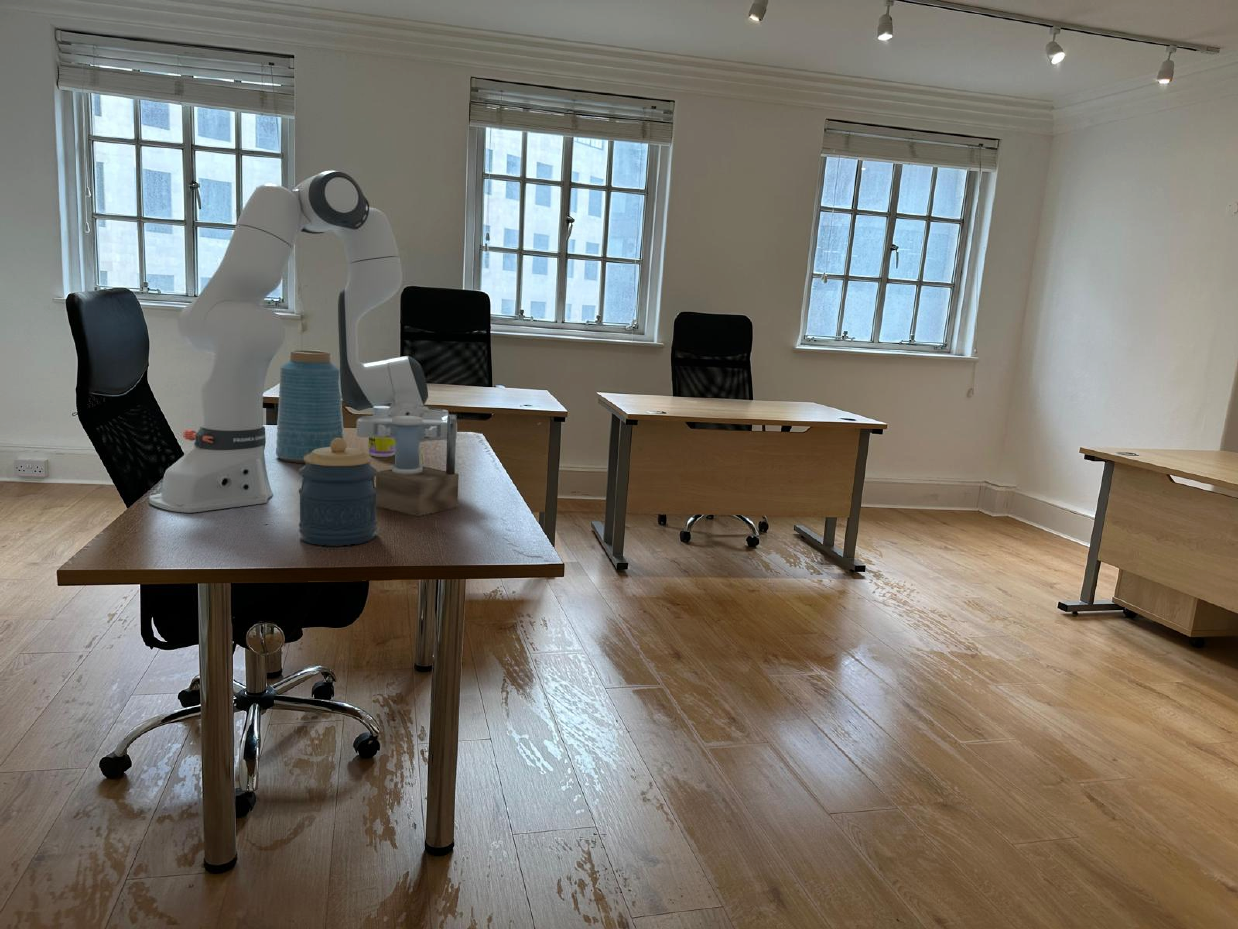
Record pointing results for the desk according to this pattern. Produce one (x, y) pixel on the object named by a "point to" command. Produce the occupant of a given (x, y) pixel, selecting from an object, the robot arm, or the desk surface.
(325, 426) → the vase
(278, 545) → the desk surface
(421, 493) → the walnut shelf block
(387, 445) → the supplement bottle
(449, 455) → the hook post
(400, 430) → the cord spool
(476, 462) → the desk surface
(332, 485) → the canister
